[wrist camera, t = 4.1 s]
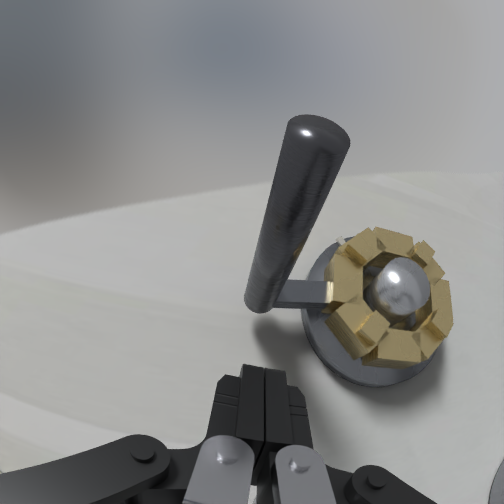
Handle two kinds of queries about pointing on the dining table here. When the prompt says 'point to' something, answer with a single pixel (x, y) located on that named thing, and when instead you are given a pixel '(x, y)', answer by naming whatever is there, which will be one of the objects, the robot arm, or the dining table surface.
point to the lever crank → (338, 257)
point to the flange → (377, 298)
